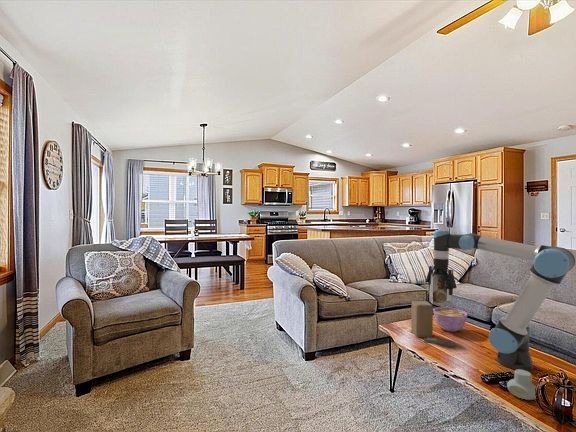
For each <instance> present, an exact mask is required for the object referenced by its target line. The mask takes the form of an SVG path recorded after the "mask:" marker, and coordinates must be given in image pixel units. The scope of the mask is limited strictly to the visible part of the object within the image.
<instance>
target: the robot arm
mask: <svg viewBox="0 0 576 432" xmlns="http://www.w3.org/2000/svg"><path fill="white" fill-rule="evenodd" d="M433 233H434V234H433V265H429V267H428V271H427V272H428V273H427V275H426V279H425V283H428V290H429V297H431V273H433V274H439V275H442V276H443V277H444V280H445V282H446V284H447V286H448V289H447V301H450V302H451V301H452V297H453V295H454V294H453V291H454V289H457V283H456V279H455V275H454V269H450V268H449V265H450V264H449V260H450V259H449V256H450V254H449V252H450V249H456V250H463V251H472V250H473V249H475V250H479V251H484V252H489V253H493V254H498V255H501V256H507V257H512V258H517V259H521V260H525V261H530V262H533V264H532V265H531V266H530V268H529V273H530V276H529V278H528V280H527V281H526V283H525V284H524V287H523V288H522V289H521V291H520V293H519V295H518V297H516V299H515V302H514V303H513V304H512V306H511V308H510V309H509V311H508V312H507V314H506V316H505V315H504V316H502V317H500V319H499V320H498V321H497V323H496V325H495V327H494V328H493V329H491V330H490V331H489V334H488V341H489V344H490V345H491V346H492V348H493V349H494V350H496V351H497V354H496V361H497V363H498V364H500V365H501V366H503V367H506V368H508V369H511V370H514V371H515V370H517V369H520V370H525V371H528V372H530V371H533V370H534V362H533V358H532V356H531V354H530V353H531V352H530V328H531V327H530V323H531V321H532V319H533V318H534V316H535V315H536V314H537V312H538V310H539V309H540V308H541V306H542V304H543V303H544V302H545V299H546V298H547V296H549V295H548V294H549V293H550V292H551V290H552V289H553V287H554V286H558V285H560V284H561V283H562V281H563V280H564V278H565V277H566V275H567V273H568V272H570V271H571V270H572V269H573V268H574V267H575V265H576V257H575V255H574V254H573V253H572V252H571V251H570V250H569V249H567V248H566V247H565V248H564V247H561V246H551V245H544V244H543V245H542V244H541V245H538V246H537V245H532V244H527V243H521V242H516V241H511V240H505V239H500V238H495V237H491V236H490V237H489V236H485V235H479V234H476V233H465V234H453V233H451V234H450V231H449V230H447V229H436V230H434V232H433ZM448 275H449V279H450V280H449V279H448V278H447V277H446V276H448Z"/></svg>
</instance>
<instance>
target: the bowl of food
mask: <svg viewBox="0 0 576 432" xmlns="http://www.w3.org/2000/svg"><path fill="white" fill-rule="evenodd" d="M433 316H434V318H435V322H436V324H437V326H438V327H440V328H441V329H443V330H444V331H446V332H451V333H453V332H457V331H460V330H462V329H463V328H464V327H465V324H466V321H467V318H468V313H467V312H466V310H465V311H464V310H462V309H459V308H455V307H448V306H446V307H445V306H441V307H440V306H439V307H435V308H433Z"/></svg>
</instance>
